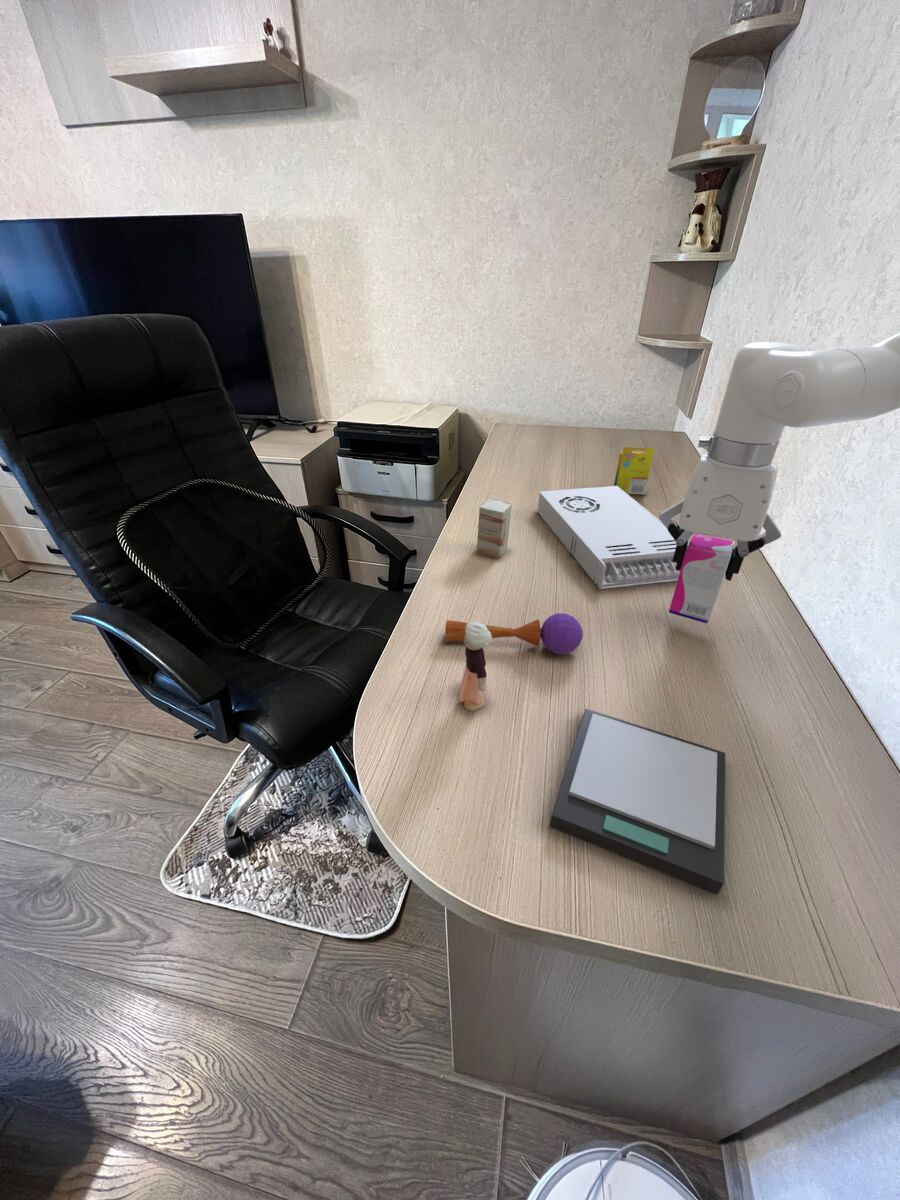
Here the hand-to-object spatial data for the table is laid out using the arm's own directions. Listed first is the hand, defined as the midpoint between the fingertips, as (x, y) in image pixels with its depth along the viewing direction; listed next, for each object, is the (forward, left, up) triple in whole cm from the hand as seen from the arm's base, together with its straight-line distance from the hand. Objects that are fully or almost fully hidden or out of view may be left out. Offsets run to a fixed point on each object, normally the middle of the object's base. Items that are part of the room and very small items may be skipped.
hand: (703, 570), depth 74 cm
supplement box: (0, 0, -7) cm, 7 cm away
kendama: (+23, +16, -10) cm, 31 cm away
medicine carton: (+36, -9, -10) cm, 39 cm away
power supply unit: (+16, -23, -10) cm, 30 cm away
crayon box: (+16, -52, -10) cm, 56 cm away
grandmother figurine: (+24, +30, -10) cm, 40 cm away
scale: (+2, +35, -10) cm, 36 cm away
